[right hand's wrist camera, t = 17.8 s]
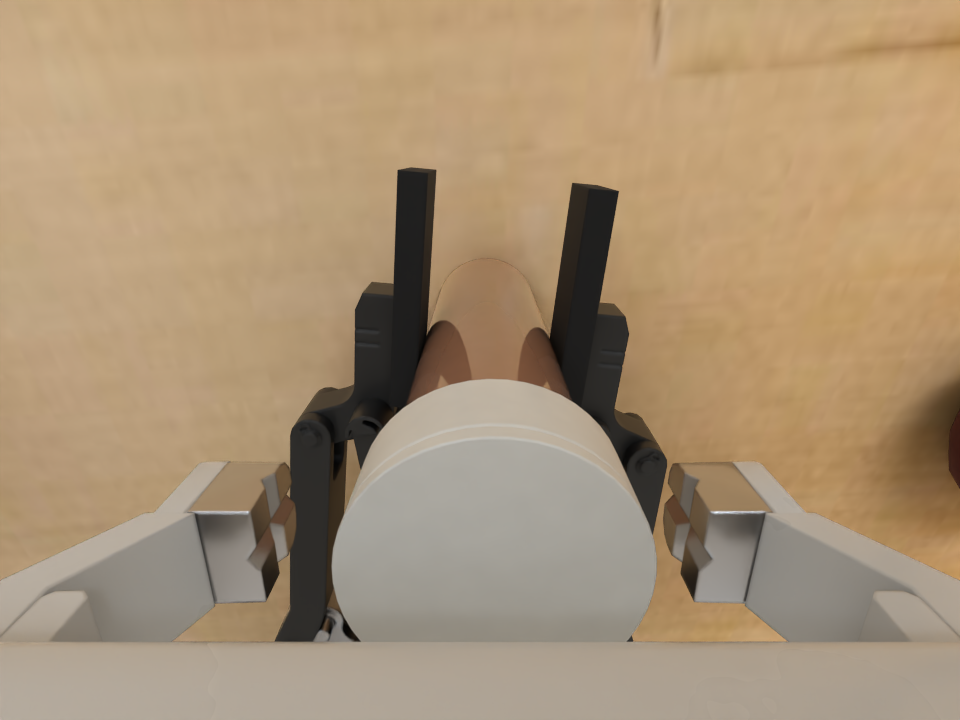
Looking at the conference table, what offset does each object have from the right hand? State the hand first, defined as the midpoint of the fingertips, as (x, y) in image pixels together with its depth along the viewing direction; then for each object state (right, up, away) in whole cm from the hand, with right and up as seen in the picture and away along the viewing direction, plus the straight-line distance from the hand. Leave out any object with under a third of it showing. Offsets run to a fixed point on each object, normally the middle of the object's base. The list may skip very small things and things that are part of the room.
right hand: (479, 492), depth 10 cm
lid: (0, -1, -2) cm, 2 cm away
